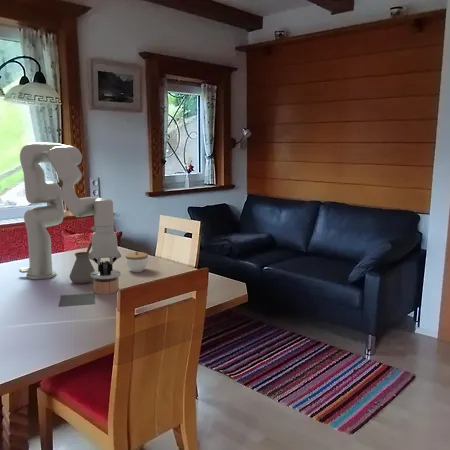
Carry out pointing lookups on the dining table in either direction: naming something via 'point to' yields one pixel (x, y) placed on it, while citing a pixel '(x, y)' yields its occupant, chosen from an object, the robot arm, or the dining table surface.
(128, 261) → the lidded jar
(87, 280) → the coffee pot
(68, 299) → the mat
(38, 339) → the dining table surface
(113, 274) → the lid
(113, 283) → the bowl
